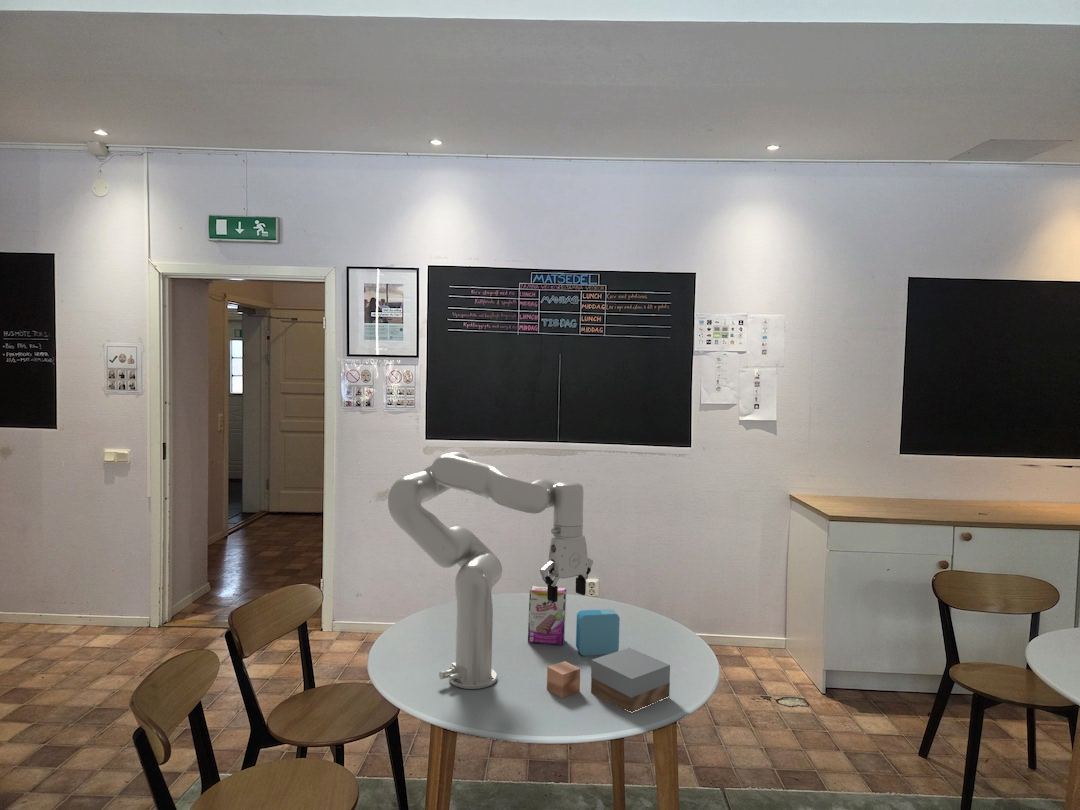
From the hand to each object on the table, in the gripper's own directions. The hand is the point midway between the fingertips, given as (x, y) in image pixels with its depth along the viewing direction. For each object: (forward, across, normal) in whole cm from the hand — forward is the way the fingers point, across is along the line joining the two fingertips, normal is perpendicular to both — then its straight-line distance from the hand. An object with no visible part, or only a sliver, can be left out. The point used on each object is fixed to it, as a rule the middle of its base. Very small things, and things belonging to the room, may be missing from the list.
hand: (566, 597), depth 170 cm
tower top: (+20, +12, -12) cm, 26 cm away
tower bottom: (+25, +12, -12) cm, 30 cm away
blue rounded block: (+24, +25, +13) cm, 37 cm away
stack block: (+24, 0, 0) cm, 24 cm away
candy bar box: (+24, +18, +28) cm, 41 cm away
